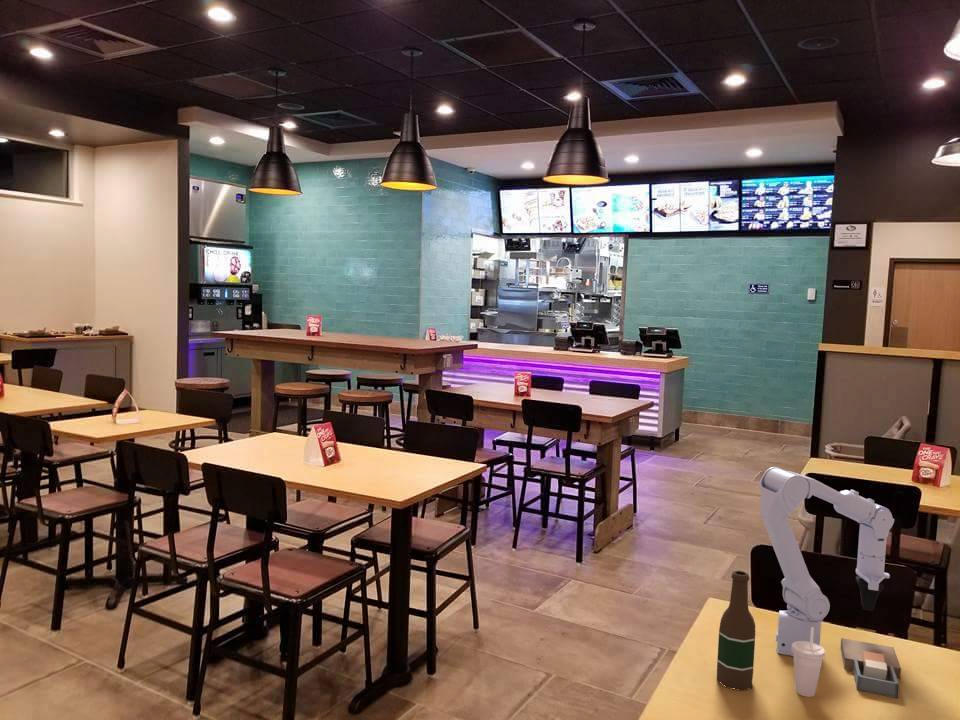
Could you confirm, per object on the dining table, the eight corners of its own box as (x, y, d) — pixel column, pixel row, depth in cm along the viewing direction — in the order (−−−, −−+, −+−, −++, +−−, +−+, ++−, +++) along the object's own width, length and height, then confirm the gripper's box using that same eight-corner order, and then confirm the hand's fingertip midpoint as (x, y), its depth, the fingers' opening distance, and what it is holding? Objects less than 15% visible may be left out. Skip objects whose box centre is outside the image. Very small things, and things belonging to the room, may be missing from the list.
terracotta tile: (863, 671, 159) (864, 664, 158) (862, 657, 162) (863, 650, 162) (884, 675, 158) (885, 668, 157) (882, 661, 161) (883, 654, 160)
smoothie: (825, 702, 149) (830, 636, 148) (792, 698, 150) (796, 632, 149) (817, 686, 155) (821, 622, 154) (785, 682, 156) (789, 619, 155)
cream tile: (863, 673, 159) (864, 680, 158) (865, 659, 158) (866, 666, 156) (884, 677, 158) (885, 684, 156) (886, 663, 156) (887, 670, 155)
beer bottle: (725, 669, 161) (731, 563, 160) (760, 682, 156) (766, 573, 154) (708, 681, 156) (714, 572, 154) (743, 695, 150) (749, 582, 149)
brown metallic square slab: (844, 668, 163) (845, 658, 163) (840, 648, 173) (841, 637, 173) (900, 679, 159) (901, 668, 159) (892, 657, 169) (893, 647, 169)
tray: (856, 689, 154) (857, 676, 154) (852, 670, 162) (853, 657, 162) (897, 698, 151) (898, 684, 151) (891, 678, 159) (892, 664, 159)
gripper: (895, 566, 164) (891, 624, 165) (886, 547, 177) (882, 601, 178) (860, 561, 167) (856, 618, 168) (854, 542, 180) (850, 596, 181)
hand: (867, 609), depth 173 cm, fingers closed
